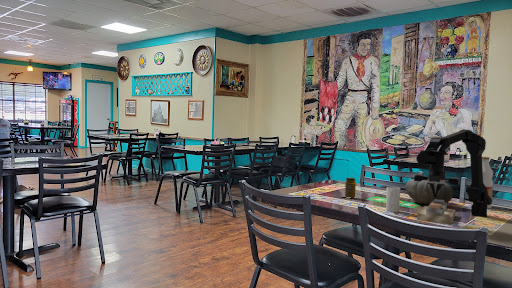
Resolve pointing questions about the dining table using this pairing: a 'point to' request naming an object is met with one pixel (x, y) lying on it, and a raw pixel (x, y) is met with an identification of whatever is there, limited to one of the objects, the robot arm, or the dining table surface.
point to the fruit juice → (487, 177)
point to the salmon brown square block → (435, 206)
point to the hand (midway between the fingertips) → (435, 197)
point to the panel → (436, 214)
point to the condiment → (350, 187)
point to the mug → (392, 199)
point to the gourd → (427, 192)
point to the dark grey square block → (439, 201)
